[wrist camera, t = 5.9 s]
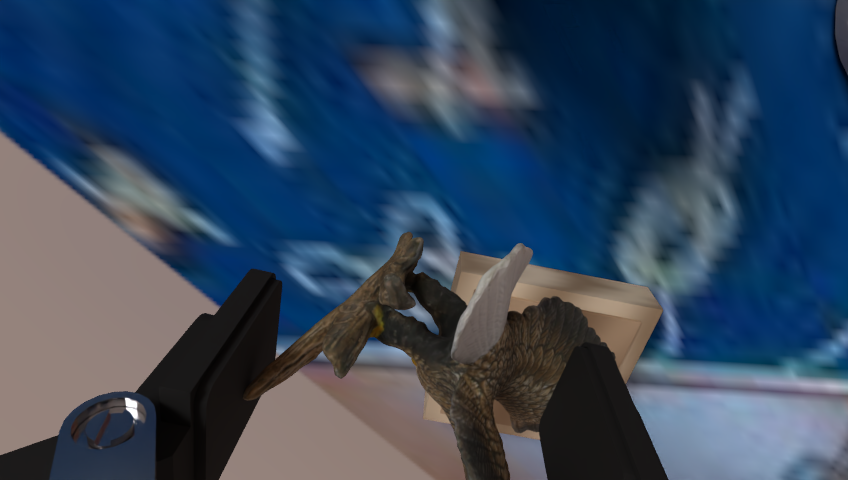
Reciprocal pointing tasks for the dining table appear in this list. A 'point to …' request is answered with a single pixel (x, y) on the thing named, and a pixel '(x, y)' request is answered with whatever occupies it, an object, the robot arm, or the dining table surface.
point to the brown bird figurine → (453, 348)
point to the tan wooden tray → (597, 298)
